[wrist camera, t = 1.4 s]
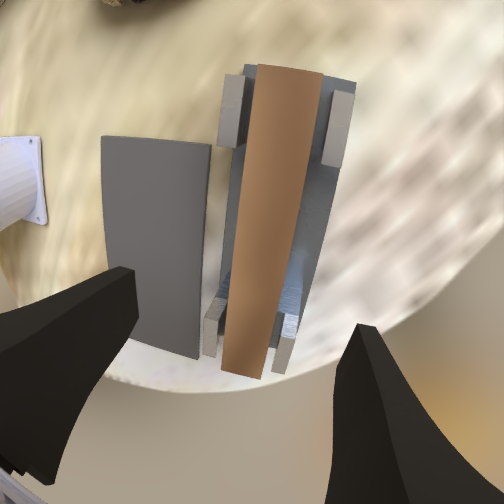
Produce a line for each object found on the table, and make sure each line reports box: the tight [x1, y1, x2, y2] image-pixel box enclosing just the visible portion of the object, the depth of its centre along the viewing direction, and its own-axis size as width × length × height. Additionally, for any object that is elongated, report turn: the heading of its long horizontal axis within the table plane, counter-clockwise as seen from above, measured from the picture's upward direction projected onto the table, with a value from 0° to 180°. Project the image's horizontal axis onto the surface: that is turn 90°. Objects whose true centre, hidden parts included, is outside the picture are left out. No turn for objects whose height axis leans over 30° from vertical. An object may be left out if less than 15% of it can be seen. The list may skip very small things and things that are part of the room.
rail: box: [221, 64, 323, 380], centre depth 14 cm, size 2×16×2 cm, turn 172°
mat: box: [101, 136, 212, 360], centre depth 22 cm, size 8×18×1 cm, turn 173°
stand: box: [203, 64, 356, 374], centre depth 16 cm, size 6×17×6 cm, turn 173°
